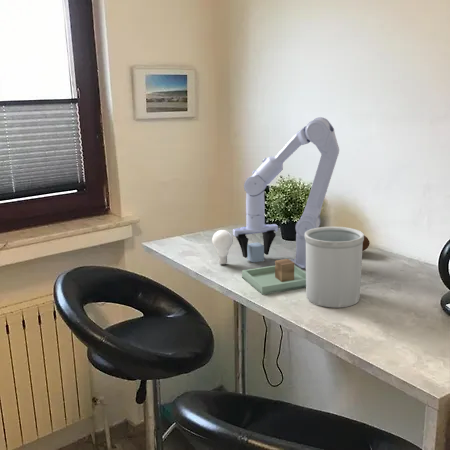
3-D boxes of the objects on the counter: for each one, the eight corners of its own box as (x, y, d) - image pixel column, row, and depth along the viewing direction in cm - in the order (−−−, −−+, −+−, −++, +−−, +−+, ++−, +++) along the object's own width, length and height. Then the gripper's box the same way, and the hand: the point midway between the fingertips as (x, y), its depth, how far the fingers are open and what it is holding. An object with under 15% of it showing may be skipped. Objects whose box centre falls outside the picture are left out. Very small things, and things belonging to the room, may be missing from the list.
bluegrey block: (258, 257, 180) (258, 242, 179) (264, 260, 177) (264, 245, 175) (247, 258, 179) (247, 243, 178) (252, 262, 175) (252, 247, 174)
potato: (351, 248, 187) (352, 225, 185) (373, 256, 179) (374, 232, 177) (334, 252, 183) (335, 229, 181) (357, 260, 175) (358, 236, 173)
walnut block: (275, 277, 161) (275, 260, 160) (287, 275, 162) (287, 258, 161) (281, 281, 157) (281, 264, 156) (294, 279, 159) (294, 262, 157)
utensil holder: (293, 292, 152) (294, 229, 147) (341, 283, 157) (343, 223, 152) (321, 313, 138) (323, 244, 134) (372, 303, 143) (376, 237, 139)
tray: (291, 269, 168) (291, 262, 168) (314, 285, 156) (315, 278, 155) (242, 277, 163) (242, 270, 162) (262, 294, 150) (262, 286, 150)
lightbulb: (231, 268, 171) (230, 233, 168) (210, 267, 172) (209, 232, 169) (235, 261, 177) (234, 227, 174) (215, 260, 178) (214, 227, 175)
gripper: (271, 208, 180) (271, 248, 184) (228, 213, 175) (229, 254, 179) (280, 213, 174) (280, 255, 177) (237, 218, 169) (237, 261, 172)
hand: (255, 255), depth 178 cm, fingers open, 7 cm apart
